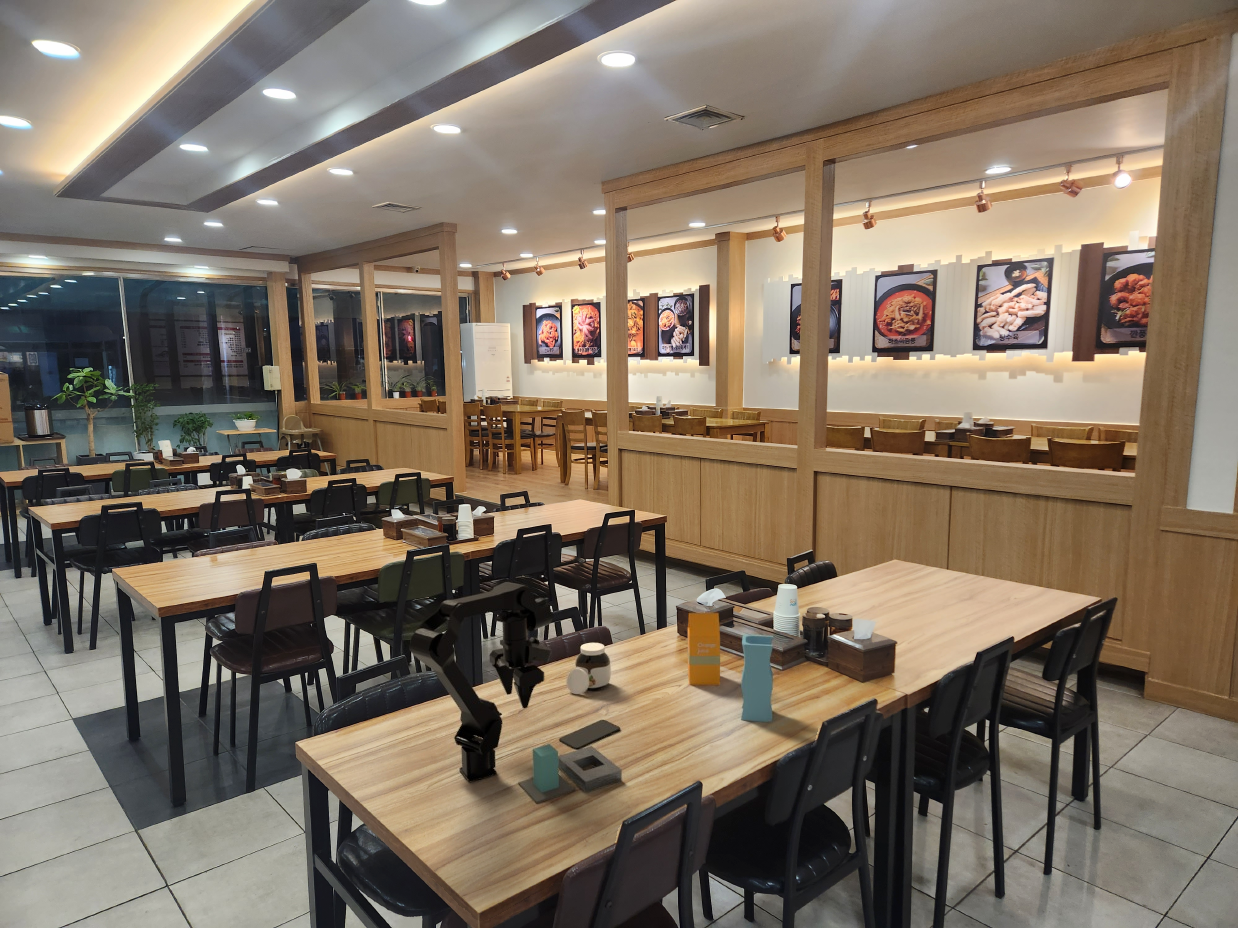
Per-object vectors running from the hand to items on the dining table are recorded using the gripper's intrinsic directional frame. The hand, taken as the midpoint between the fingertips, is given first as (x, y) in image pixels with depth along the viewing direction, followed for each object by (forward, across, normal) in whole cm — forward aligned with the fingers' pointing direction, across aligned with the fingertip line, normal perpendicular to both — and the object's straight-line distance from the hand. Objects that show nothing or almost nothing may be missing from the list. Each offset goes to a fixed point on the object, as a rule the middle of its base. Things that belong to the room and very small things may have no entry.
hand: (517, 700), depth 177 cm
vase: (+12, -16, -60) cm, 63 cm away
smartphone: (+13, -3, -18) cm, 22 cm away
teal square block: (+12, -19, +2) cm, 22 cm away
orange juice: (+12, +10, -63) cm, 65 cm away
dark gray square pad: (+12, -19, +2) cm, 22 cm away
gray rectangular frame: (+12, -19, -9) cm, 24 cm away
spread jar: (+12, +22, -32) cm, 41 cm away
